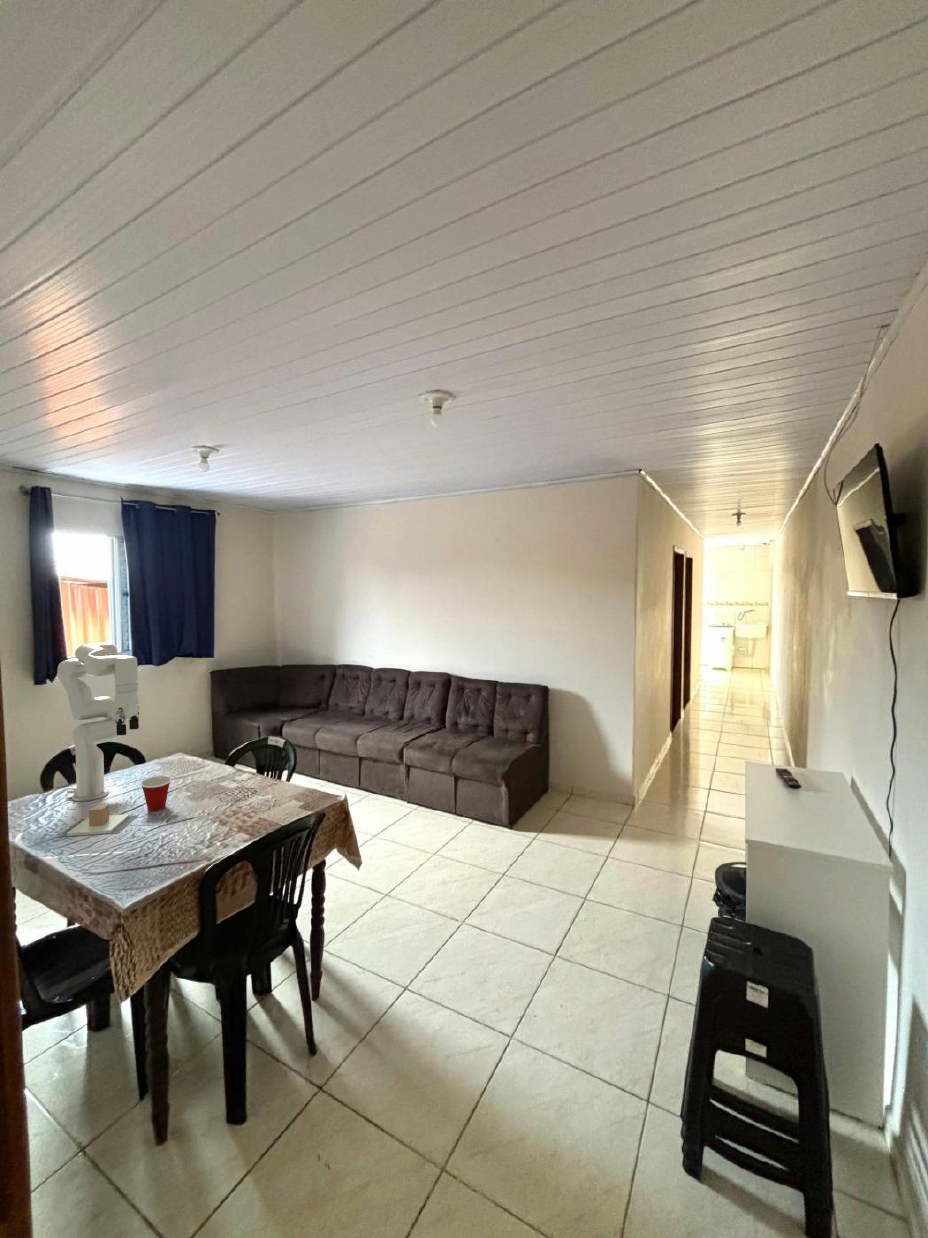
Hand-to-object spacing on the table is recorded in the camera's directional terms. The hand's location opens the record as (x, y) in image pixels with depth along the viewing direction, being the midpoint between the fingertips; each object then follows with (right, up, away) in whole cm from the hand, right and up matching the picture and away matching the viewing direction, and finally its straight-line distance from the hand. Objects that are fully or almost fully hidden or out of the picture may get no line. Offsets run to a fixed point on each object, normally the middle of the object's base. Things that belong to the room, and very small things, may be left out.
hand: (128, 732), depth 200 cm
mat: (-4, -33, -10) cm, 35 cm away
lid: (-4, -32, -10) cm, 34 cm away
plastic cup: (+8, -33, +6) cm, 34 cm away
